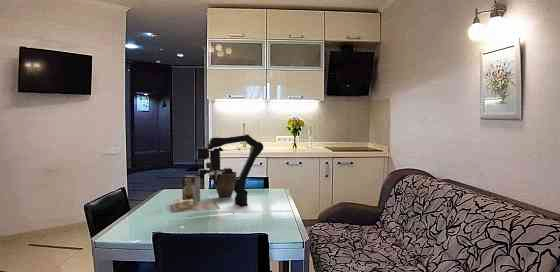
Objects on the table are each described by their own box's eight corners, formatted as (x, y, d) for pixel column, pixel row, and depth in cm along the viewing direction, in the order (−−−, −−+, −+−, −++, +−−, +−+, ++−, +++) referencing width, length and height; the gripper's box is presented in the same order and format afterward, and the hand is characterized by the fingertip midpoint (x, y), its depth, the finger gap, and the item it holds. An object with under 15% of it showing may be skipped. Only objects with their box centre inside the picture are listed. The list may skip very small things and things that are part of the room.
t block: (192, 205, 225) (192, 198, 224) (194, 208, 215) (193, 201, 215) (174, 206, 222) (174, 199, 221) (175, 210, 212) (175, 203, 212)
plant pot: (241, 196, 253) (241, 172, 252) (226, 200, 241) (226, 175, 240) (224, 194, 261) (223, 170, 260) (208, 198, 249) (208, 173, 248)
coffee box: (182, 202, 236) (181, 176, 235) (188, 200, 242) (187, 174, 241) (194, 203, 233) (194, 177, 232) (200, 201, 239) (200, 175, 238)
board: (214, 203, 234) (214, 201, 234) (220, 210, 215) (220, 208, 215) (169, 206, 226) (169, 205, 226) (171, 214, 207) (171, 212, 207)
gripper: (228, 157, 233) (228, 183, 234) (196, 158, 227) (197, 185, 228) (232, 159, 223) (232, 186, 223) (199, 160, 217) (199, 188, 218)
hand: (215, 186), depth 223 cm, fingers closed
